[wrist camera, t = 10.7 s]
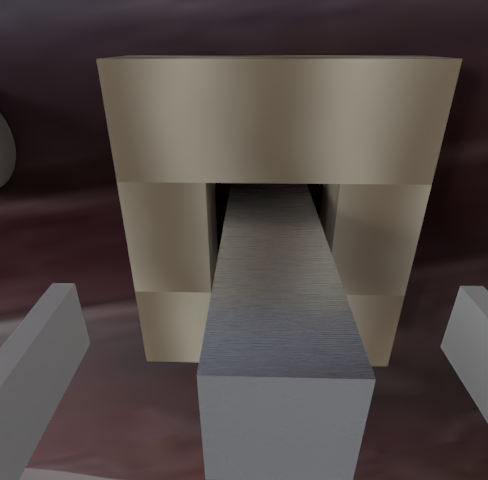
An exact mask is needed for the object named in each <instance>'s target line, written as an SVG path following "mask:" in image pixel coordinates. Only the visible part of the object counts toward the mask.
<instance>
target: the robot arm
mask: <svg viewBox="0 0 488 480" xmlns="http://www.w3.org/2000/svg"><path fill="white" fill-rule="evenodd" d="M89 345H90V341H89V337H88V333H87V329H86V325H85V321H84V318H83V314H82V310H81V306H80V302H79V298H78V294H77V290H76V286H75V283H52V285H51V286H50V287H49V288H48V289H47V291H46V292H45V293H44V294H43V296H42V297H41V298H40V299H39V301H38V302H37V303H36V304H35V306H34V307H33V308H32V309H31V310H30V312H29V313H28V314H27V315H26V317H25V318H24V319H23V320H22V322H21V323H20V324H19V325H18V327H17V328H16V329H15V330H14V331H13V333H12V334H11V335H10V336H9V338H8V339H7V340H6V341H5V343H4V344H3V345H2V346H1V348H0V480H19V479H20V477H21V475H22V473H23V471H24V469H25V468H26V466H27V464H28V462H29V460H30V458H31V456H32V454H33V452H34V450H35V449H36V447H37V445H38V443H39V441H40V439H41V437H42V435H43V433H44V431H45V429H46V428H47V426H48V424H49V422H50V420H51V418H52V416H53V414H54V412H55V410H56V408H57V407H58V405H59V403H60V401H61V399H62V397H63V395H64V393H65V391H66V389H67V387H68V386H69V384H70V382H71V380H72V378H73V376H74V374H75V372H76V370H77V368H78V366H79V365H80V363H81V361H82V359H83V357H84V355H85V353H86V351H87V349H88V347H89ZM440 347H441V349H442V350H443V352H444V354H445V355H446V357H447V358H448V360H449V362H450V363H451V365H452V366H453V368H454V370H455V371H456V373H457V374H458V376H459V378H460V379H461V381H462V383H463V384H464V386H465V387H466V389H467V391H468V392H469V394H470V395H471V397H472V399H473V400H474V402H475V403H476V405H477V407H478V408H479V410H480V411H481V413H482V415H483V416H484V418H485V420H486V421H487V423H488V291H487V290H486V289H485V288H484V286H460V288H459V291H458V294H457V297H456V301H455V304H454V307H453V310H452V313H451V316H450V319H449V322H448V325H447V328H446V331H445V334H444V337H443V340H442V343H441V346H440Z"/></svg>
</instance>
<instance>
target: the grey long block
mask: <svg viewBox="0 0 488 480" xmlns="http://www.w3.org/2000/svg"><path fill="white" fill-rule="evenodd" d="M375 381H376V379H375V376H374V373H373V370H372V367H371V365H370V362H369V359H368V356H367V353H366V350H365V348H364V345H363V342H362V339H361V336H360V333H359V331H358V328H357V325H356V322H355V319H354V316H353V314H352V311H351V308H350V305H349V302H348V299H347V296H346V294H345V291H344V288H343V285H342V282H341V279H340V277H339V274H338V271H337V268H336V265H335V262H334V260H333V257H332V254H331V251H330V248H329V245H328V243H327V240H326V237H325V234H324V231H323V228H322V226H321V223H320V220H319V217H318V214H317V211H316V209H315V206H314V203H313V200H312V197H311V194H310V191H309V189H308V186H307V184H280V183H231V187H230V192H229V198H228V203H227V209H226V214H225V220H224V226H223V231H222V237H221V242H220V248H219V254H218V259H217V265H216V270H215V276H214V282H213V287H212V293H211V298H210V304H209V310H208V315H207V321H206V326H205V332H204V337H203V343H202V349H201V354H200V360H199V365H198V371H197V385H198V397H199V409H200V421H201V433H202V445H203V456H204V468H205V480H353V477H354V472H355V468H356V464H357V459H358V455H359V451H360V446H361V442H362V437H363V433H364V429H365V424H366V420H367V416H368V411H369V407H370V402H371V398H372V394H373V389H374V385H375Z"/></svg>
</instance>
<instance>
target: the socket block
mask: <svg viewBox="0 0 488 480" xmlns="http://www.w3.org/2000/svg"><path fill="white" fill-rule="evenodd" d="M96 60H97V66H98V72H99V78H100V84H101V90H102V96H103V102H104V108H105V114H106V120H107V126H108V132H109V138H110V144H111V150H112V156H113V162H114V168H115V174H116V180H117V186H118V192H119V198H120V204H121V210H122V216H123V222H124V228H125V234H126V240H127V246H128V252H129V258H130V264H131V270H132V276H133V282H134V288H135V294H136V300H137V306H138V312H139V318H140V324H141V330H142V336H143V342H144V348H145V354H146V360H147V361H157V362H199V360H200V354H201V349H202V343H203V337H204V332H205V326H206V321H207V315H208V310H209V304H210V298H211V293H212V287H213V282H214V276H215V270H216V265H217V259H218V242H217V217H216V191H215V183H280V184H323V190H322V200H321V210H320V219H319V220H320V223H321V226H322V228H323V231H324V234H325V237H326V240H327V243H328V245H329V248H330V251H331V254H332V257H333V260H334V262H335V265H336V268H337V271H338V274H339V277H340V279H341V282H342V285H343V288H344V291H345V294H346V296H347V299H348V302H349V305H350V308H351V311H352V314H353V316H354V319H355V322H356V325H357V328H358V331H359V333H360V336H361V339H362V342H363V345H364V348H365V350H366V353H367V356H368V359H369V362H370V365H371V366H388V362H389V358H390V354H391V350H392V346H393V342H394V338H395V334H396V329H397V325H398V321H399V317H400V313H401V309H402V305H403V301H404V297H405V292H406V288H407V284H408V280H409V276H410V272H411V268H412V264H413V260H414V256H415V251H416V247H417V243H418V239H419V235H420V231H421V227H422V223H423V219H424V214H425V210H426V206H427V202H428V198H429V194H430V190H431V186H432V182H433V178H434V173H435V169H436V165H437V161H438V157H439V153H440V149H441V145H442V141H443V136H444V132H445V128H446V124H447V120H448V116H449V112H450V108H451V104H452V100H453V95H454V91H455V87H456V83H457V79H458V75H459V71H460V67H461V63H462V59H458V58H446V57H435V56H423V55H127V56H118V57H109V58H100V59H96Z"/></svg>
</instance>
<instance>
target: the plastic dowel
mask: <svg viewBox="0 0 488 480" xmlns="http://www.w3.org/2000/svg"><path fill="white" fill-rule="evenodd" d="M15 163H16V147H15V142H14V138H13V135H12V133H11V130H10V128H9V126H8V124H7V122H6V120H5V118H4V117H3V115H2V114H1V112H0V188H1V187H2V186H3V185H4V184H5V183H6V182H7V181H8V180H9V179H10V177H11V175H12V173H13V171H14V168H15Z"/></svg>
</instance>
